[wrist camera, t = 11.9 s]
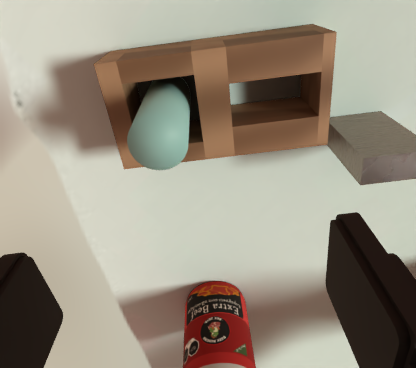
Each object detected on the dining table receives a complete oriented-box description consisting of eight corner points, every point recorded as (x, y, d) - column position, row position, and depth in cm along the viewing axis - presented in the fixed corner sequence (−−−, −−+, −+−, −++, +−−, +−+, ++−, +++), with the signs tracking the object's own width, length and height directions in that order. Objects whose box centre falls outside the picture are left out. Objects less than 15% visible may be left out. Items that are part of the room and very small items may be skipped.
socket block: (308, 121, 29) (327, 144, 25) (134, 143, 30) (124, 169, 26) (312, 24, 25) (336, 31, 21) (110, 51, 26) (93, 64, 22)
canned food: (243, 276, 40) (257, 366, 30) (245, 317, 44) (259, 408, 34) (180, 282, 40) (176, 373, 30) (189, 322, 44) (187, 414, 35)
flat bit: (377, 133, 30) (429, 176, 24) (323, 140, 30) (360, 185, 24) (380, 111, 29) (437, 149, 22) (324, 118, 29) (364, 158, 23)
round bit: (193, 112, 29) (192, 166, 20) (153, 117, 29) (135, 173, 20) (187, 70, 27) (183, 110, 18) (144, 76, 27) (120, 118, 18)
